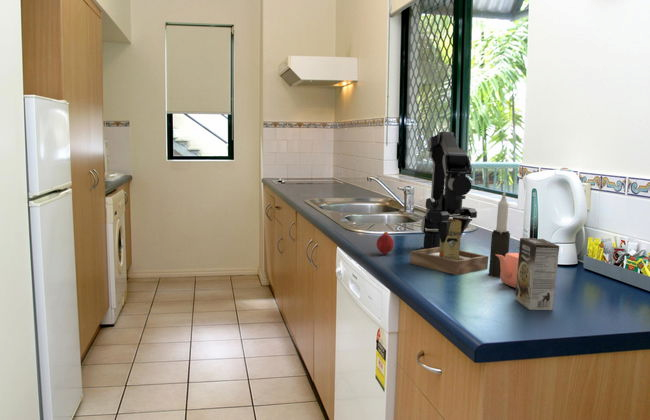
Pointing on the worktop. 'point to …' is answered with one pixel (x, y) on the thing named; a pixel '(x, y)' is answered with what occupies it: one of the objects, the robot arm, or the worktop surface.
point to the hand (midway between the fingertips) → (450, 241)
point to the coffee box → (536, 273)
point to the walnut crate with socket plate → (449, 261)
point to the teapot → (509, 268)
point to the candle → (499, 238)
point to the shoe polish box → (451, 241)
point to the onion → (385, 243)
